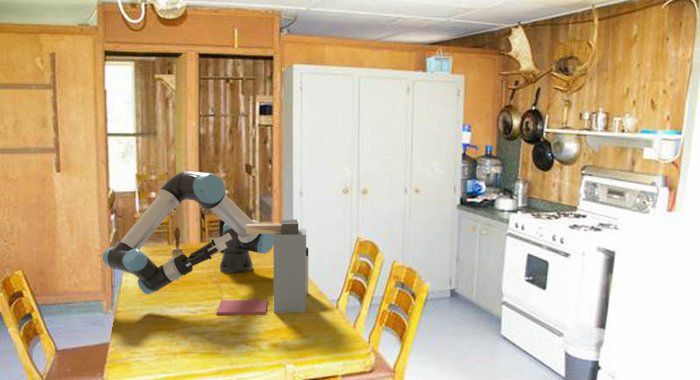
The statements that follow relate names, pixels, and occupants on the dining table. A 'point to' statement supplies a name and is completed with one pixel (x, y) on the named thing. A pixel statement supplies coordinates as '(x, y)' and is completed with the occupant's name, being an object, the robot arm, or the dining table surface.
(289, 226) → the stamp
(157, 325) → the dining table surface
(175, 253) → the hand bell
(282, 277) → the pedestal
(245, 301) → the mat
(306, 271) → the travel mug
